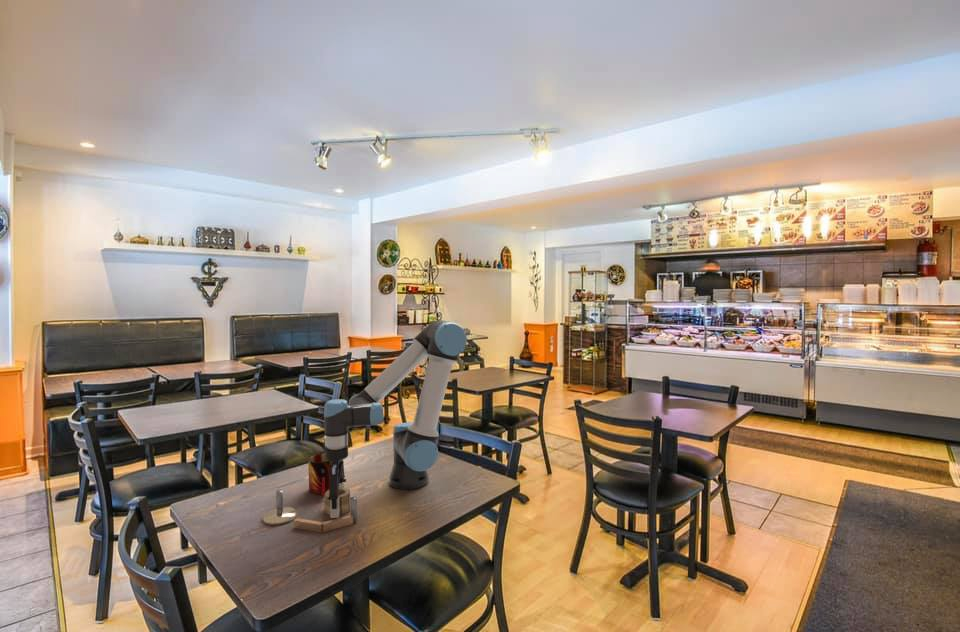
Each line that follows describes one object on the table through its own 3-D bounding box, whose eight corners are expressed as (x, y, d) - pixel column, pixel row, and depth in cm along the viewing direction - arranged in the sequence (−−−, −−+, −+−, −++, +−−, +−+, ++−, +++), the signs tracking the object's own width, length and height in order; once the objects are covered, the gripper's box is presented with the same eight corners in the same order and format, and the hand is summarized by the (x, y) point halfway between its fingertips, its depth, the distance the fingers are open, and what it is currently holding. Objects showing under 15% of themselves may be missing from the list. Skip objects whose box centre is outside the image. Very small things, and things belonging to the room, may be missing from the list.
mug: (323, 500, 168) (322, 467, 168) (304, 489, 178) (303, 458, 177) (347, 491, 175) (346, 460, 175) (327, 481, 185) (326, 451, 184)
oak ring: (351, 503, 166) (351, 486, 165) (348, 514, 158) (348, 496, 157) (327, 505, 164) (327, 488, 164) (323, 516, 156) (323, 498, 156)
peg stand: (299, 509, 161) (298, 483, 161) (292, 524, 151) (291, 496, 151) (268, 511, 160) (267, 485, 159) (259, 526, 150) (258, 498, 149)
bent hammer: (357, 520, 153) (357, 496, 153) (355, 529, 147) (355, 504, 147) (295, 525, 150) (294, 500, 150) (290, 534, 145) (289, 509, 144)
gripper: (330, 435, 171) (331, 495, 172) (318, 458, 148) (319, 527, 149) (352, 435, 172) (353, 493, 173) (343, 457, 149) (344, 525, 150)
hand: (337, 509), depth 161 cm, fingers open, 11 cm apart
